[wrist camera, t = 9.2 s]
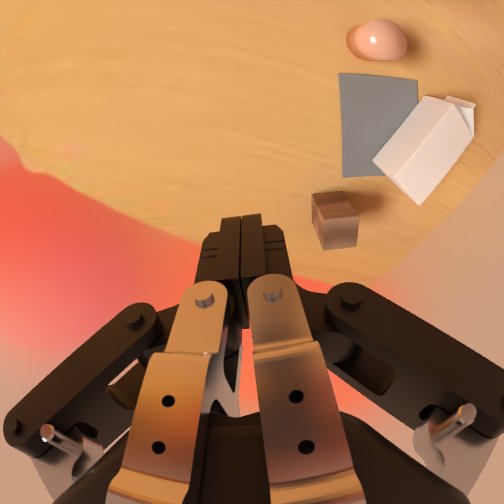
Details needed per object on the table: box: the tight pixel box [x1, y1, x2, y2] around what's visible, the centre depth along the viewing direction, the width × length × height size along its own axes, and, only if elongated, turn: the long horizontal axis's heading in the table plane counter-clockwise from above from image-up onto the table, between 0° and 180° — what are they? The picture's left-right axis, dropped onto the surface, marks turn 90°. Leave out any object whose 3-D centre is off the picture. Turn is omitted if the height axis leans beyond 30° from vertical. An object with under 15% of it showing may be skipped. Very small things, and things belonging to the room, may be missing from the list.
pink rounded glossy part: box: [347, 19, 407, 61], centre depth 24 cm, size 6×6×7 cm
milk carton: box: [372, 95, 476, 206], centre depth 31 cm, size 7×7×19 cm
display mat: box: [339, 74, 417, 178], centre depth 34 cm, size 16×13×1 cm
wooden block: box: [311, 191, 359, 251], centre depth 39 cm, size 5×5×8 cm
